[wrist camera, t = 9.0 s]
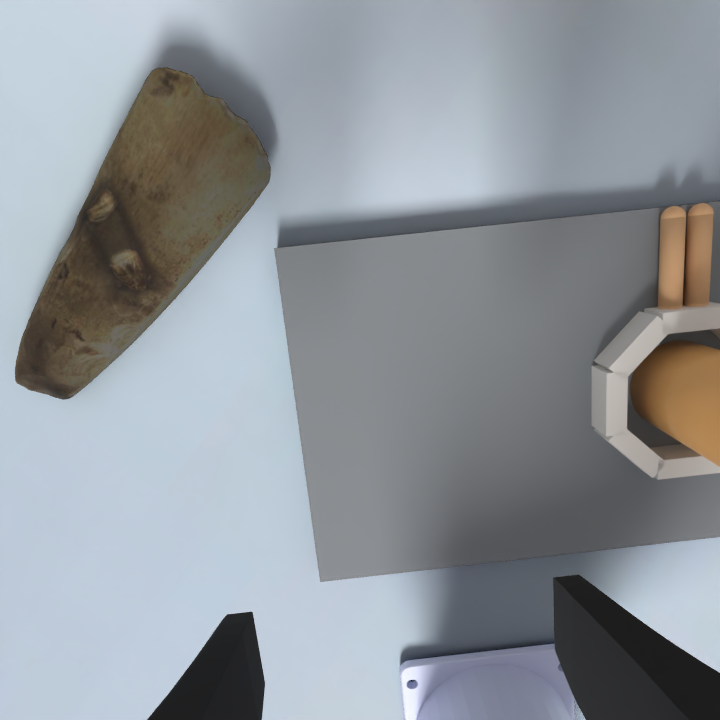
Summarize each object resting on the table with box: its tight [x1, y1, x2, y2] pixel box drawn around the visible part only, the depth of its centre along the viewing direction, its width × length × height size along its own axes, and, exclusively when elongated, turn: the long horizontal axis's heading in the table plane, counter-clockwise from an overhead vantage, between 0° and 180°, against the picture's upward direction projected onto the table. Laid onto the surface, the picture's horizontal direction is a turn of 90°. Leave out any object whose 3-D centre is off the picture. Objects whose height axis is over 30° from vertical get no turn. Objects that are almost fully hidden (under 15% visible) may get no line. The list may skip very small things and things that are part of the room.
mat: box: [274, 201, 720, 582], centre depth 21 cm, size 14×20×2 cm
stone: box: [15, 68, 270, 400], centre depth 19 cm, size 13×5×2 cm, turn 145°
